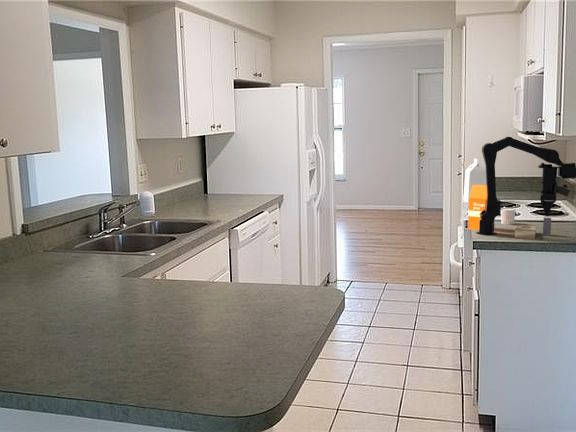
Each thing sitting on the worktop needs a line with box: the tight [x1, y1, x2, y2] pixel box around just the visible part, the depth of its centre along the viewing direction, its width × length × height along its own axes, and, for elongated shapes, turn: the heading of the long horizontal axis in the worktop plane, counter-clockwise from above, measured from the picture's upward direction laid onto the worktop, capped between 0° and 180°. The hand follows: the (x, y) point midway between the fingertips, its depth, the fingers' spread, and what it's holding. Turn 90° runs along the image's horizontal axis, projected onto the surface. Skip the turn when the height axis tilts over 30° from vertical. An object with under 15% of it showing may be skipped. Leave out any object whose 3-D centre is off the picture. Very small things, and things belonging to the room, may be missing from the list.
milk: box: [462, 158, 486, 204], centre depth 380 cm, size 12×12×26 cm
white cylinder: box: [500, 208, 517, 226], centre depth 304 cm, size 7×7×7 cm
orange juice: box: [467, 185, 487, 231], centre depth 290 cm, size 8×9×20 cm
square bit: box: [542, 216, 552, 237], centre depth 273 cm, size 3×3×8 cm
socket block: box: [514, 224, 537, 240], centre depth 274 cm, size 16×8×3 cm, turn 157°
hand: (547, 214), depth 272 cm, fingers open, 9 cm apart
